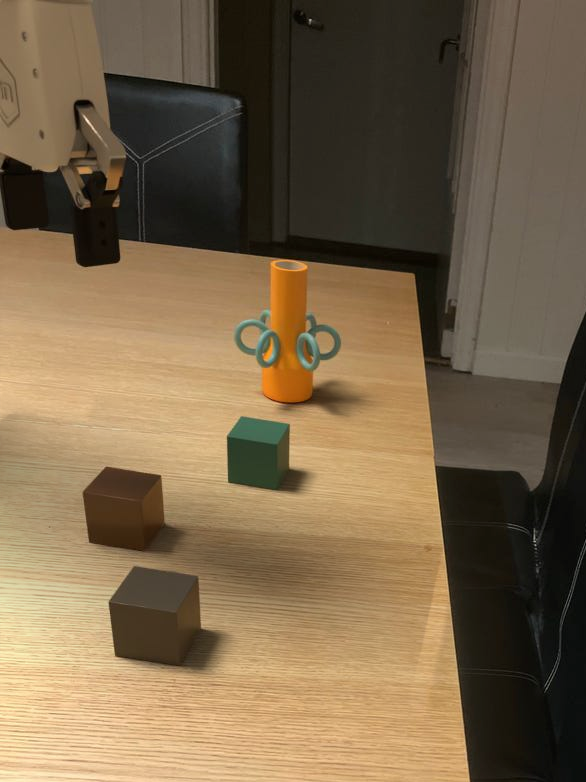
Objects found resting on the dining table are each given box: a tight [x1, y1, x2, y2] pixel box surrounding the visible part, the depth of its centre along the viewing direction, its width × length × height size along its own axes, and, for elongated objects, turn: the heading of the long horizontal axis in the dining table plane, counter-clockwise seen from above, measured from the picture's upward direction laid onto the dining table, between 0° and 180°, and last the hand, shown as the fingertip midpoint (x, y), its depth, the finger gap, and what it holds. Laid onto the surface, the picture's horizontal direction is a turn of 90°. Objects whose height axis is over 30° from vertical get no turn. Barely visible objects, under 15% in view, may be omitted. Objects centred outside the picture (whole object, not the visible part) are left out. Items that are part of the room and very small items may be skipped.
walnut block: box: [82, 466, 166, 552], centre depth 83 cm, size 5×5×5 cm
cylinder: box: [233, 259, 342, 403], centre depth 109 cm, size 12×10×15 cm
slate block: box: [107, 565, 202, 667], centre depth 71 cm, size 5×5×5 cm
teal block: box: [226, 416, 291, 490], centre depth 95 cm, size 5×5×5 cm
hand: (62, 245), depth 70 cm, fingers open, 9 cm apart
